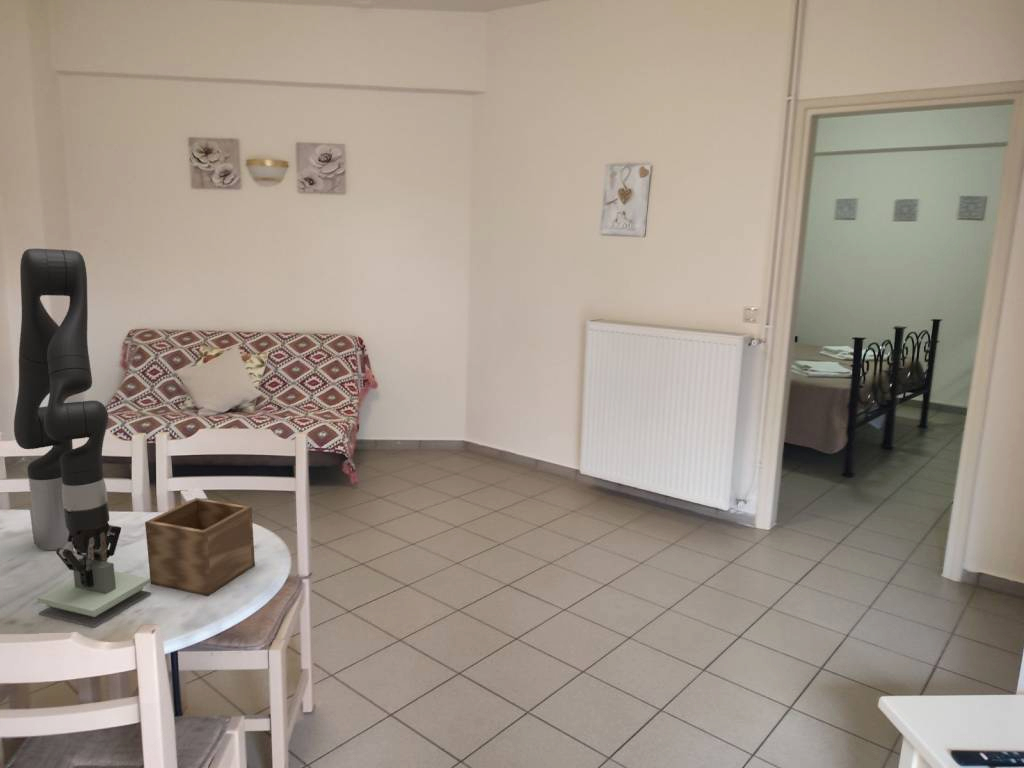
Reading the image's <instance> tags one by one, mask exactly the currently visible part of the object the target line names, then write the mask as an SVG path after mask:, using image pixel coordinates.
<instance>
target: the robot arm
mask: <svg viewBox="0 0 1024 768" xmlns="http://www.w3.org/2000/svg"><path fill="white" fill-rule="evenodd" d="M19 267H20V269H19V271H20V273H19V274H20V275H19V276H20V297H21V299H20V300H21V303H20V304H21V323H20V324H21V325H20V334H19V335H20V336H19V347H18V348H19V349H18V390H17V397H16V398H17V399H16V404H15V405H16V407H15V411H14V418H13V419H14V420H13V433H14V434H13V435H14V438H15V441H16V444H17V445H18V446H19V447H20V448H21V449H24V450H36V449H37V450H38V449H42V448H46V447H47V448H48V447H51V449H49V450H48V452H46V453H45V454H44V455H42V456H40V457H39V458H37V459H35V460H33V461H31V462H30V463H29V464H28V465H27V476H28V484H29V485H28V486H29V493H30V501H31V505H30V506H29V515H30V516H29V517H30V523H31V531H32V538H33V545H36V546H37V547H36V548H38V549H39V550H44V551H54V550H55V552H56V555H57V556H58V558H59V559H60V560H61V562H63V564H64V565H65V567H67V568H68V570H70V571H73V570H74V571H77V572H80V580H81V584H82V585H83V586H84V587H88V588H91V587H92V586H94V583H93V574H92V569H91V559H95V560H100V561H105V562H108V559H109V557H113V556H115V552H116V548H117V546H118V542H119V538H120V535H121V533H122V532H121V531H122V527H121V526H118V525H117V526H116V525H113V524H109V521H110V511H109V501H108V493H107V492H108V491H107V485H106V482H105V478H104V467H103V466H104V465H103V446H104V440H105V436H106V432H107V427H108V423H109V414H108V410H107V408H106V406H105V405H104V404H103V403H102V402H101V401H98V400H93V399H92V400H85V401H84V400H83V401H72V402H65V401H66V400H67V399H68V398H70V397H72V396H75V395H79V394H81V393H84V392H87V391H88V390H90V388H91V387H92V386H93V377H92V370H91V369H92V368H91V364H90V362H91V361H90V355H89V347H88V316H89V315H88V314H89V311H88V276H87V275H88V274H87V266H86V262H85V259H84V256H83V255H82V254H81V252H79V251H77V250H71V249H70V250H68V249H53V248H27V249H26V250H25V251H23V253H22V254H21V259H20V265H19ZM43 296H55V297H58V296H63V297H64V296H65V297H69V304H68V309H67V311H66V314H65V316H64V318H63V320H62V322H61V323H60V325H58V323H57V322H56V321H55V320H54V319H53V318H52V317H51V315H50V314H49V313H48V311H47V310H46V308H45V307H44V304H43V303H42V299H41V297H43ZM91 389H92V388H91ZM48 395H49V396H48ZM47 396H48V397H49V398H48V401H47V405H46V406H41V405H42V403H43V401H44V400H45V399H46V398H47ZM86 438H88V439H87V441H86V442H85V443H84V444H82V445H81V446H78V447H76V448H73V440H78V439H80V440H81V439H86Z"/></svg>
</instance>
